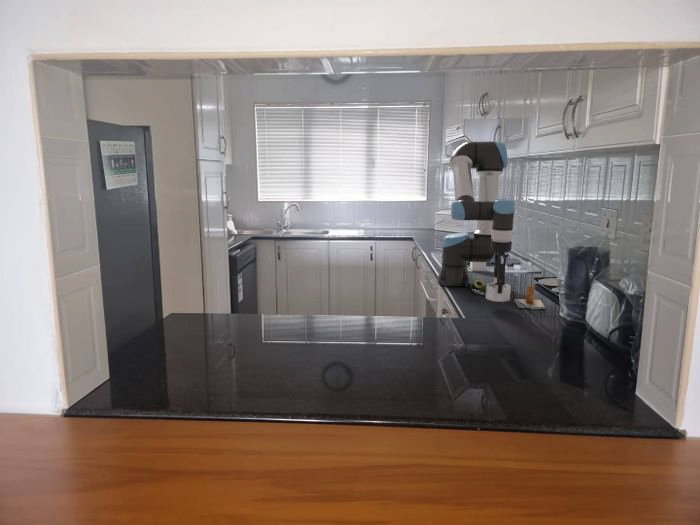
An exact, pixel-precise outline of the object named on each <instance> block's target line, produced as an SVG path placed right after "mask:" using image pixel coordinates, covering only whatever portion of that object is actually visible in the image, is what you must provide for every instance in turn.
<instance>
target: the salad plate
mask: <svg viewBox="0 0 700 525" xmlns="http://www.w3.org/2000/svg"><path fill="white" fill-rule="evenodd" d="M486 284H487V283H486V282H485V281H484V280H482V279H479V278H476V279H474V280H473V281H472V284H470V285H469V288H471V289H472V291H473V292H477V291H474V290H473V289H476V290H479V291H480V292H477V293H481V292H484V293H483V294H486ZM510 287H511V286H510ZM471 289H470V290H471ZM511 290H516V287H511ZM472 291H471V292H472ZM511 294H512V291H510V295H511Z"/></svg>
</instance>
